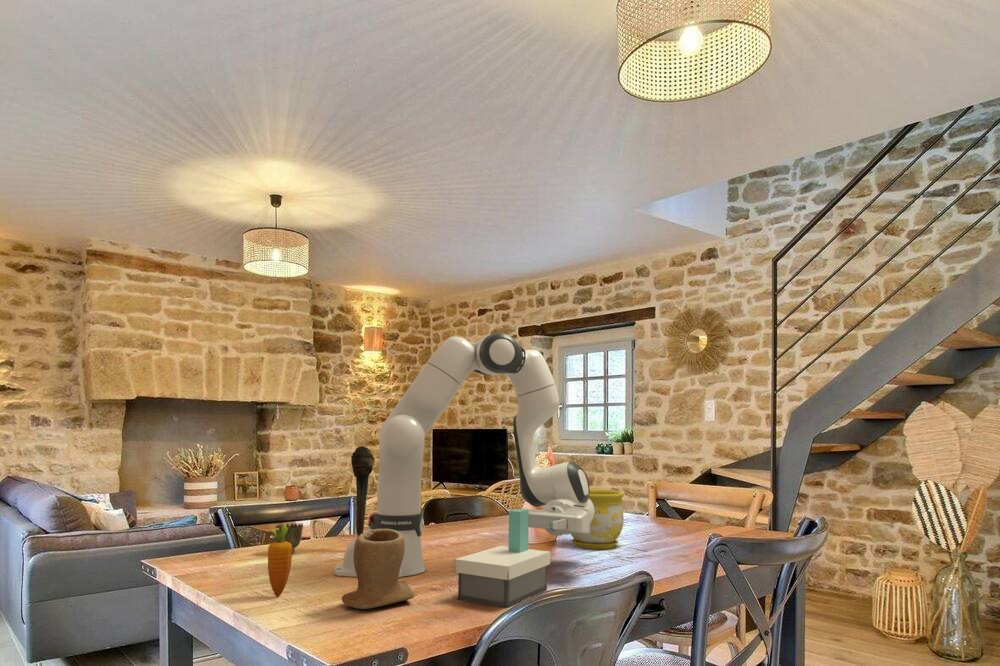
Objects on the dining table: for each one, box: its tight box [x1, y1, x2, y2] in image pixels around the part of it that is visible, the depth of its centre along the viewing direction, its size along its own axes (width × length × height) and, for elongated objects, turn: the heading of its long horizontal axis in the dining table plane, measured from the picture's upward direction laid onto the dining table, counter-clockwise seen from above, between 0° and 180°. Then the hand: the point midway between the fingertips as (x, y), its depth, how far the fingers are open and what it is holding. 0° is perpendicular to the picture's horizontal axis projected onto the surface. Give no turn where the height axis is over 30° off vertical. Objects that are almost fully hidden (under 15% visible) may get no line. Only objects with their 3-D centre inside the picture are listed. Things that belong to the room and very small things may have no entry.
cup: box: [275, 523, 304, 555], centre depth 190 cm, size 8×7×8 cm
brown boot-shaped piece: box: [340, 529, 415, 610], centre depth 139 cm, size 15×12×15 cm
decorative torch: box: [350, 445, 375, 537], centre depth 196 cm, size 7×7×30 cm
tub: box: [457, 565, 548, 609], centre depth 148 cm, size 18×12×7 cm, turn 149°
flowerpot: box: [570, 488, 625, 550], centre depth 209 cm, size 18×18×16 cm
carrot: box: [267, 523, 293, 598], centre depth 144 cm, size 5×5×15 cm
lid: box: [454, 508, 551, 580], centre depth 149 cm, size 19×13×12 cm
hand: (534, 523), depth 161 cm, fingers open, 8 cm apart
